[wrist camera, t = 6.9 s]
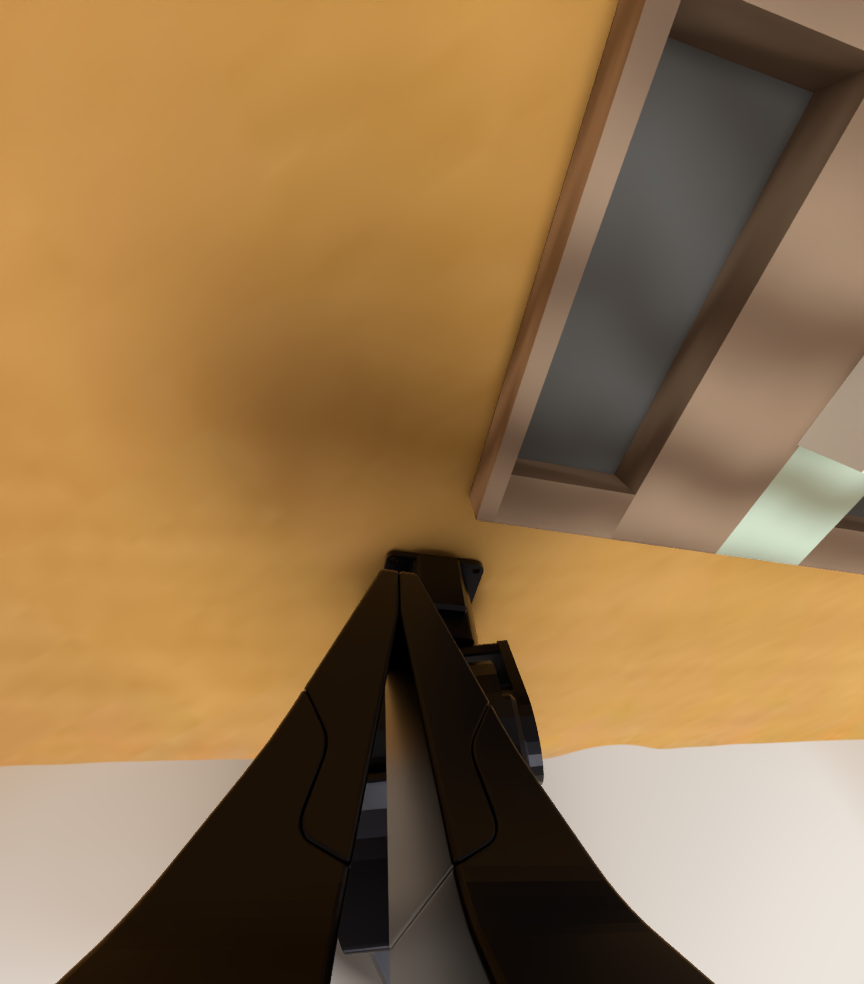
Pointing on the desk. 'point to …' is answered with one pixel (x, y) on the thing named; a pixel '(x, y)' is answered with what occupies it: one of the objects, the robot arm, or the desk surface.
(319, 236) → the desk surface
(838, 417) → the cream block
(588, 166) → the trap deck
